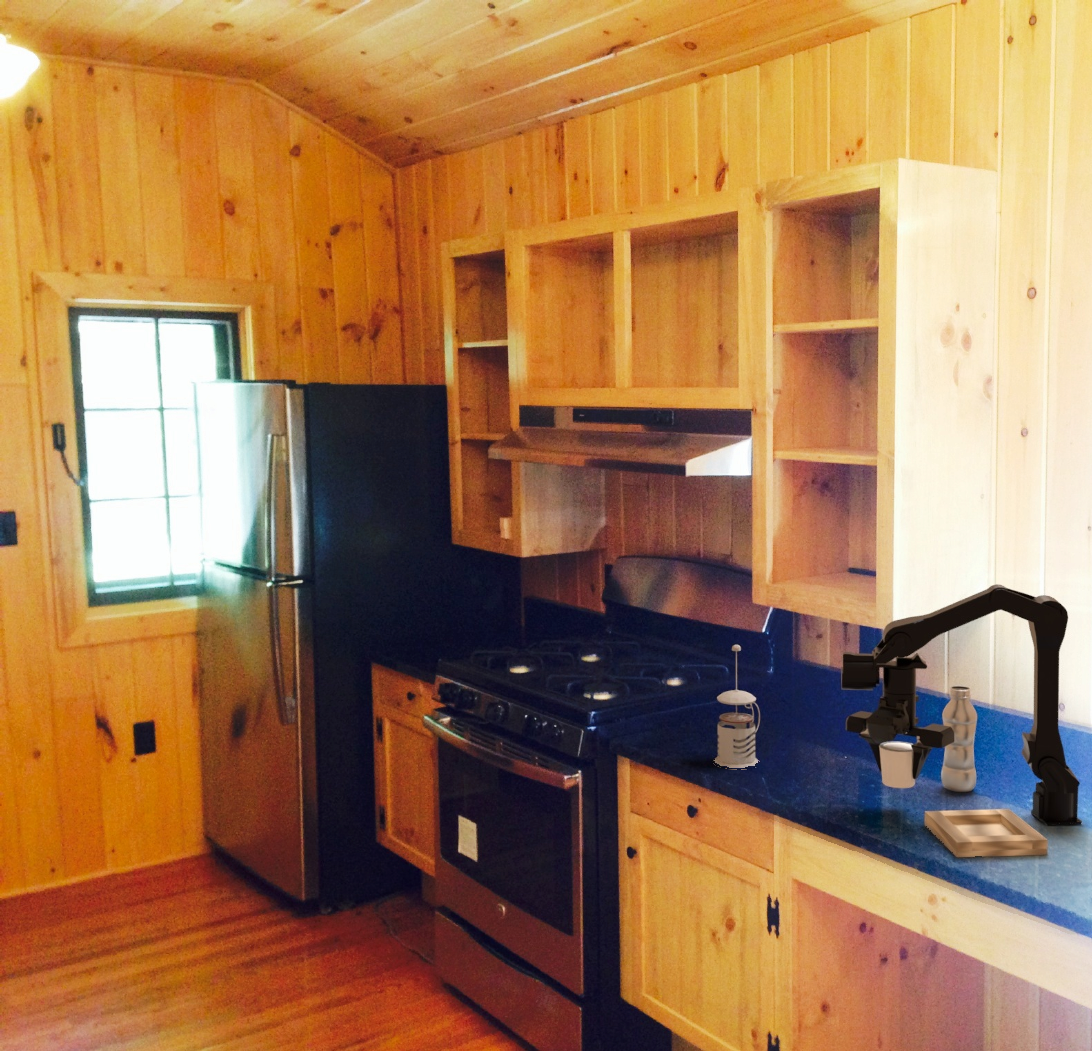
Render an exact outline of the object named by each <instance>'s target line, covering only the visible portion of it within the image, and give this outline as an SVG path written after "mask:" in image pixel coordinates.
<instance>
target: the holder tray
mask: <svg viewBox="0 0 1092 1051" xmlns="http://www.w3.org/2000/svg"><path fill="white" fill-rule="evenodd" d="M924 826H925V827H926V826H927V827H926V828H927V829H928V828H929V829H928V830H929V831H930V830H931V831H930V832H931V833H932V834H933V835H934V836H935V835H936V836H935V837H936V838H937V839H938V840H939V839H940V840H939V841H940V842H941V841H942V842H941V843H942V844H943V843H944V844H943V845H944V846H945V847H946V848H947V849H948V850H949V851H950V852H951V853H952V852H953V853H952V854H953V855H954V856H955V857H956V858H973V857H975V856H982V857H1008V856H1009V857H1011V856H1040V855H1042V856H1044V855H1046V856H1047V855H1048V842H1049V841H1048V838H1046V837H1045V836H1044V835H1042V834H1041V832H1038V831H1037V830H1036V829H1034V828H1033V827H1032V826H1031V825H1029V823H1027V822H1026V821H1025V820H1023V819H1022V818H1021V817H1020V816H1018V815H1017V814H1016V813H1014V811H1012V810H1011V809H1010V808H1001V809H1000V808H998V809H997V808H991V809H969V810H968V809H965V810H963V809H961V810H960V809H959V810H927V811H926V810H925V811H924ZM975 858H976V857H975Z"/></svg>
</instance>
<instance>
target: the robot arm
mask: <svg viewBox="0 0 1092 1051" xmlns="http://www.w3.org/2000/svg"><path fill="white" fill-rule="evenodd" d="M998 611H1003V612H1006V613H1009V614H1011V615H1014V616H1016V617H1018V618H1020V619H1023V620H1025V621H1027V622H1028V628H1029V632H1030V636H1031V640H1032V644H1033V651H1034V652H1033V659H1034V660H1033V723H1032V726H1031V730H1030V732H1029V733H1028V732H1025V731H1023V732H1021V733H1022V734H1021V736H1022V741H1023V746H1022V749H1021V755H1022V757H1023V759H1024V760H1025V763H1026V764H1027V765H1028V766H1029V768H1030V769H1031V772H1032V774H1033V775H1034V776H1036V778H1038V780H1040V782H1035V791H1033V792H1032V810H1030V814H1031V815H1032V816H1034V817H1035V818H1037V820H1039V821H1040V822H1041V823H1042V824H1044V825H1047V826H1056V825H1058V826H1059V825H1060V826H1061V825H1064V826H1065V825H1082V824H1083V821H1082V820H1081V819H1080V818H1079V817H1078V808H1079V807H1078V805H1079V786H1080V781H1079V780H1078V778H1077V777H1076V775H1075V773H1074V772H1073V771H1072V769H1071V768H1070V767H1069V765H1067V760H1066V756H1065V751H1064V745H1063V742H1062V738H1061V735H1060V730H1059V706H1060V705H1059V701H1060V697H1059V696H1060V693H1059V692H1060V686H1059V685H1060V651H1061V648H1062V644H1063V641H1064V639H1065V636H1066V630H1067V626H1068V620H1069V614H1068V611H1067V609H1066V608H1065V606H1063V605H1062V603H1060V602H1059V600H1057V599H1055V597H1052V596H1050V595H1047V594H1046V595H1045V594H1044V595H1043V594H1042V595H1038V596H1035V595H1031V594H1028V593H1025V592H1021V591H1019V590H1014V589H1011V588H1008V587H1006V586H1004V585H1002V584H998V583H997V584H993V585H990V586H989V587H988V588H986V589H984V590H981V591H980V592H977V593H974V594H972V595H970V596H968V597H965V598H963V599H961V600H958V601H956V602H953V603H952V604H949V605H946V606H944V607H942V608H940V609H937V610H934V611H933V612H929V613H926V614H922V615H915V616H910V617H906V618H905V617H904V618H901V619H900V618H899V619H896V620H893V621H890V622H889V623H887V624H886V626H884V629H883V632H882V639H881V640H880V641H879V643H878V644H877V645H876V646H875V647H874V648H873V650H872V651H871V653H860V652H859V653H857V652H851V651H843V652H842V667H840V668H841V671H840V672H841V675H840V676H841V682H840V683H841V684H840V685H841V690H843V691H844V690H850V691H851V690H852V691H874V688H877V686H880V678H881V677H880V668H882V696H880V697H879V699H878V706H877V709H876V710H874V711H873V712H870V711H869V712H868V711H865V710H864V711H863V710H860V711H858V712H854V713H852V714H850V715H849V716H847V718H846V720H845V731H846V732H848V733H849V732H850V733H856V734H858V736H859V738H860V739H864V741H865V742H867V743H868V745H869V747H870V749H871V751H872V754H873V756H874V759H875V762H876V764H877V768H878V770H879V772H880V773H882V771H881V760H880V748H879V745H880V744H881V743H884V742H891V741H894V740H895V738H896V737H897V735H902V736H908V737H913V738H916V742H915V743H912V744H913V745H911V747H912V749H913V751H914V756H913V779H915V780H917V779H918V778H919V776H920V773H921V771H922V770H923V768H924V765H925V764H926V760H927V758H928V756H929V754H930V753H931V751H932V750H933V748H934V749H944V748H945V746H947V745H949V744H951V743H953V742H954V735H955V733H954V731H953V729H952V728H951V727H950V726H944V725H943V724H938V723H931V724H928V725H927V726H925V727H923V726H922V727H920V726H916V725H918V724H919V722H920V721H919V720H920V718H919V717H916V714H917V711H916V707H917V706H916V703H917V702H920V695H918V694H917V688H916V687H917V669H919V670H925V669H927V668H928V665H927V661H925V660H924V659H923V658H922V657H921V656H920V654H919V653H918V652H917V651H918V650H921V649H922V648H924V647H925V646H926V645H928V644H929V643H930V642H931V641H932V640H933V639H935V638H937V637H938V636H940V635H942V634H945V633H948V632H950V631H953V630H954V629H957V628H959V627H962V626H964V625H966V624H969V623H971V622H975V621H976V620H978V619H981V618H983V617H985V616H988V615H990V614H992V613H995V612H998ZM915 652H916V653H915ZM914 653H915V654H914ZM912 654H914V655H913V656H911V655H912ZM910 656H911V657H910ZM894 659H895V660H894ZM1081 823H1082V824H1081Z"/></svg>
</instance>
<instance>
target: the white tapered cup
mask: <svg viewBox="0 0 1092 1051" xmlns="http://www.w3.org/2000/svg"><path fill="white" fill-rule="evenodd" d="M913 744H914V743H912V742H907V741H898V740H897V741H894V740H892V741H887V742H884V743H881V744H880V745H879V748H880V760H881V771H882V772H881V780H882V781H881V782H882V784H883V785H884V786H886V787H890V788H894V789H908V788H909V789H910V788H913V787H915V785H916V779H913V756H914V751H913V749H912V747H911V745H913Z"/></svg>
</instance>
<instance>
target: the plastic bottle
mask: <svg viewBox="0 0 1092 1051" xmlns="http://www.w3.org/2000/svg"><path fill="white" fill-rule="evenodd" d="M949 691H950V692H949V698H950V700H949V702H948V703H947V704H946V705H945V707H944V709H943V711H942V717H941V718H942V725H944V726H950V727H951V728H952V729H953V731H954V733H955V735H954V742H953V743H951V744H949V745H947V746H945V747H944V753H943V754H944V756H943V763H942V767H941V772H940V778H941V784H942V785H943V788H944V789H946V790H948V791H951V792H956V793H966V792H971V791H972V790H974V788H975V787H976V784H977V772H976V767H975V752H974V748H975V747H974V746H975V744H974V743H975V734H976V728H977V721H978V714H977V711H976V709H975V707H974V705H973V704H972V702H971V701H970V699H971V698H972V697H971V688H970V687H969V686H964V685H953V686H950V690H949Z"/></svg>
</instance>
